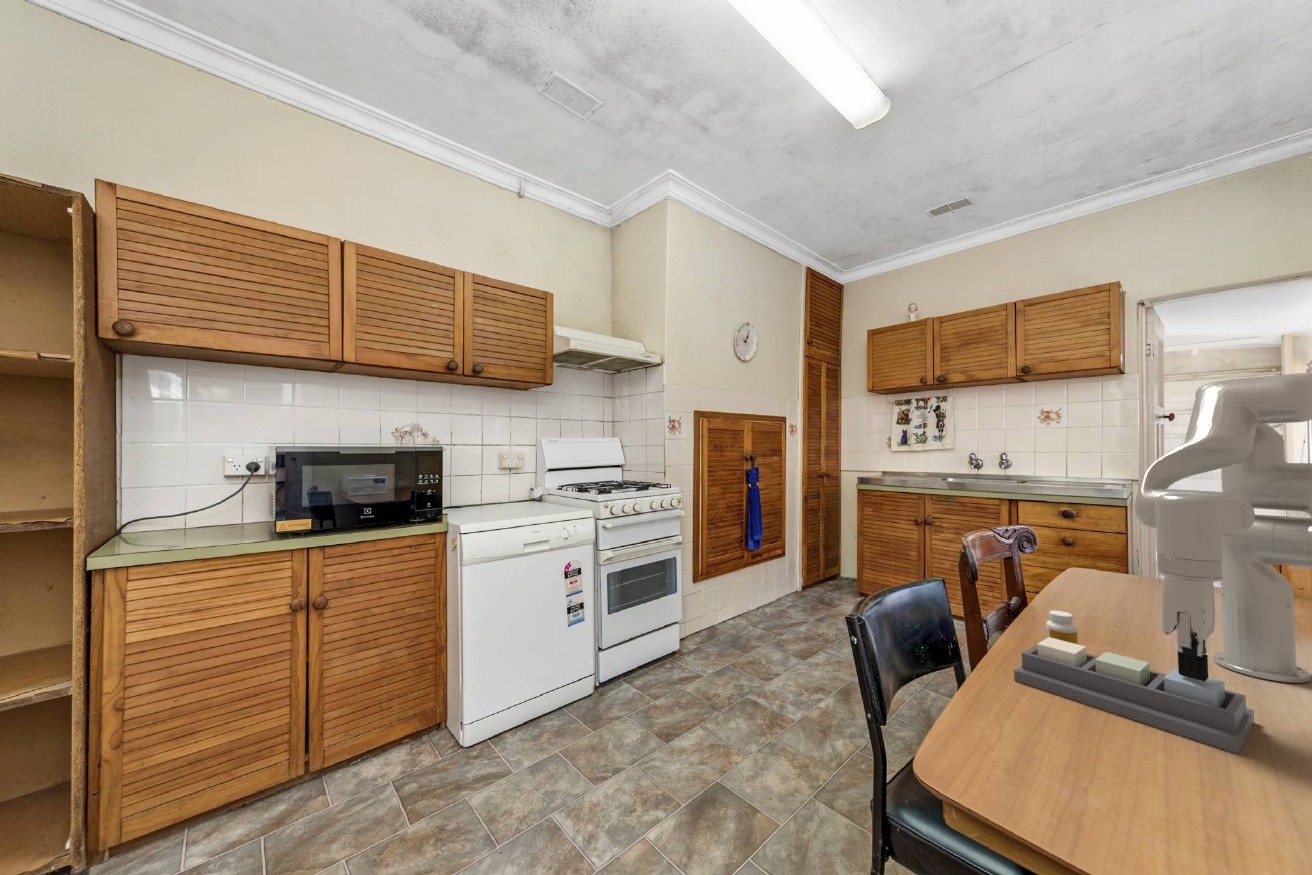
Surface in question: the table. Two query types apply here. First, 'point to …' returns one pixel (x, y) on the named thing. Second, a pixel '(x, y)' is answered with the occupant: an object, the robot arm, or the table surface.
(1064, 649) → the cream key
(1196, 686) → the blue key
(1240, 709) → the grey compartment tray
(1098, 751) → the table surface
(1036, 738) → the table surface
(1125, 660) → the sage key
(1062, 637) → the supplement bottle
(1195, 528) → the robot arm
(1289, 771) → the table surface
